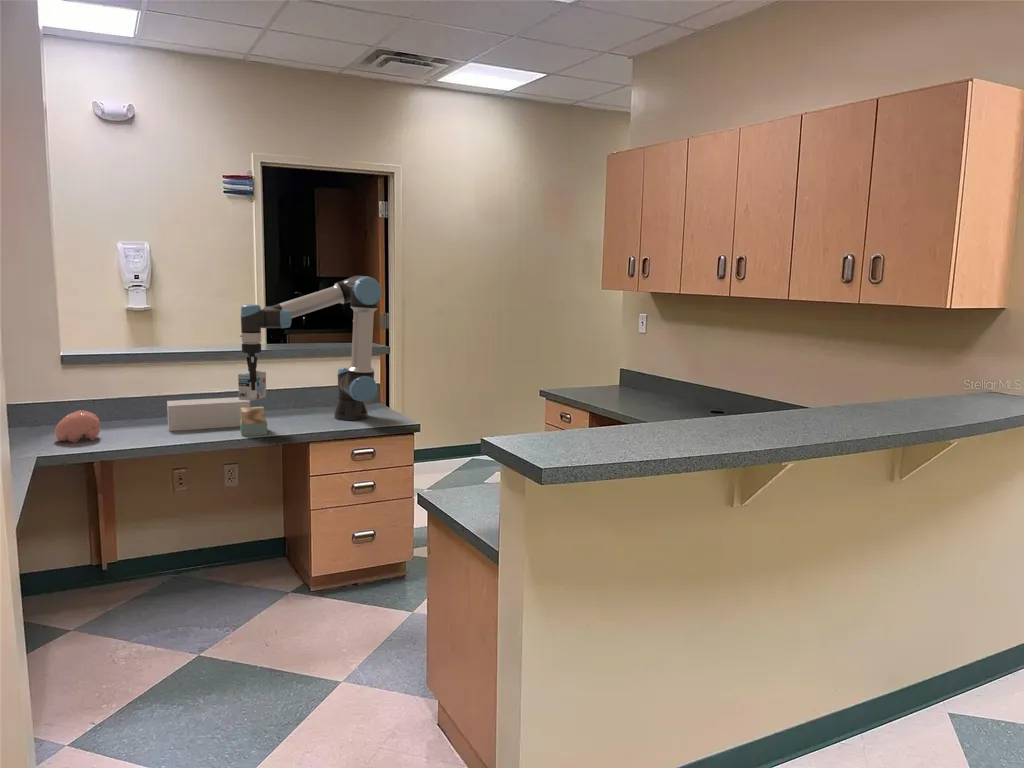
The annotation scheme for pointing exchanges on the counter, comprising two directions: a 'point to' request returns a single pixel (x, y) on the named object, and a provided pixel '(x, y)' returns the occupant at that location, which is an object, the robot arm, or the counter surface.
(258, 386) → the light bulb box
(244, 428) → the tower base slab
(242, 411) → the tower top block
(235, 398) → the pale grey long block
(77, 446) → the counter surface
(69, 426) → the brain
